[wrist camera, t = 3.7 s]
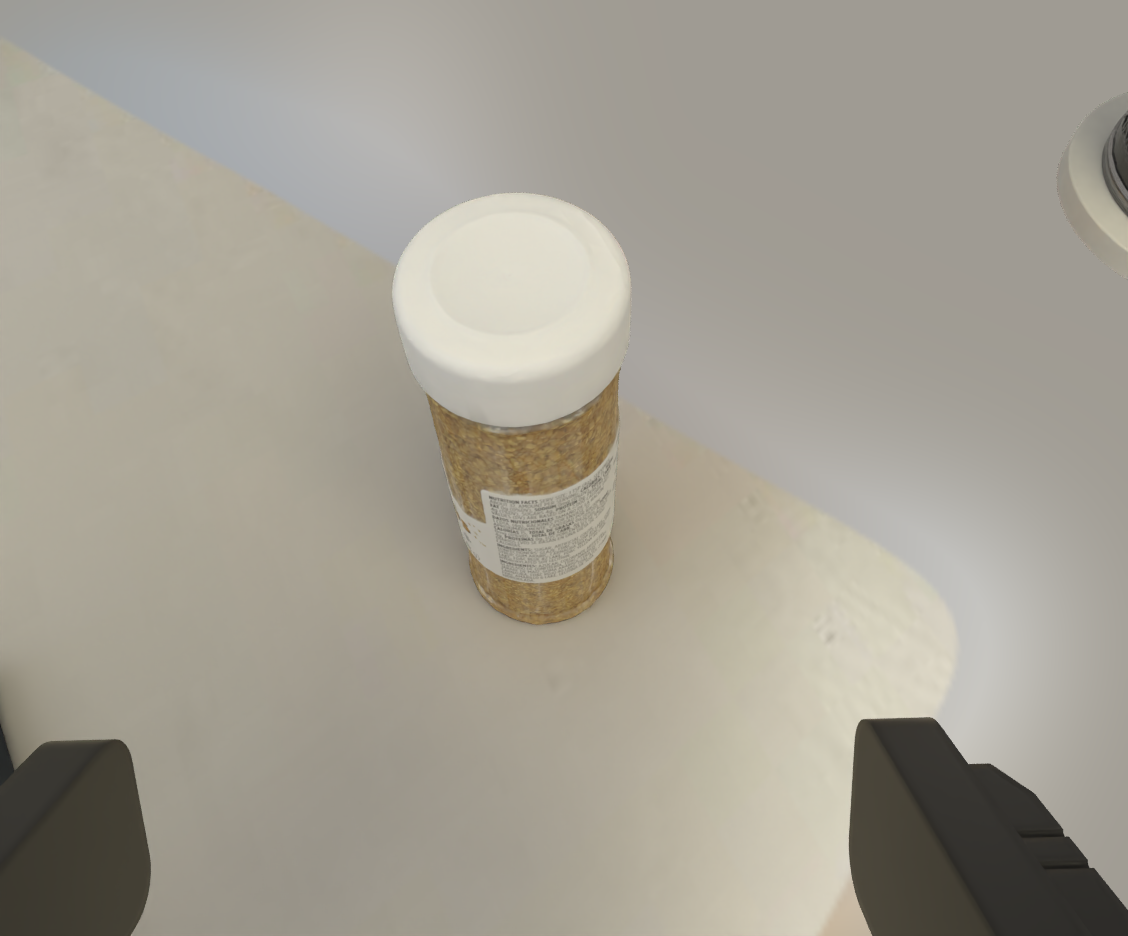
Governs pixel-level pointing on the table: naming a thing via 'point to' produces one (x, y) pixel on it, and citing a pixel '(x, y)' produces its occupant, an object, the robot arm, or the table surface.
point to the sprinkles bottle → (522, 389)
